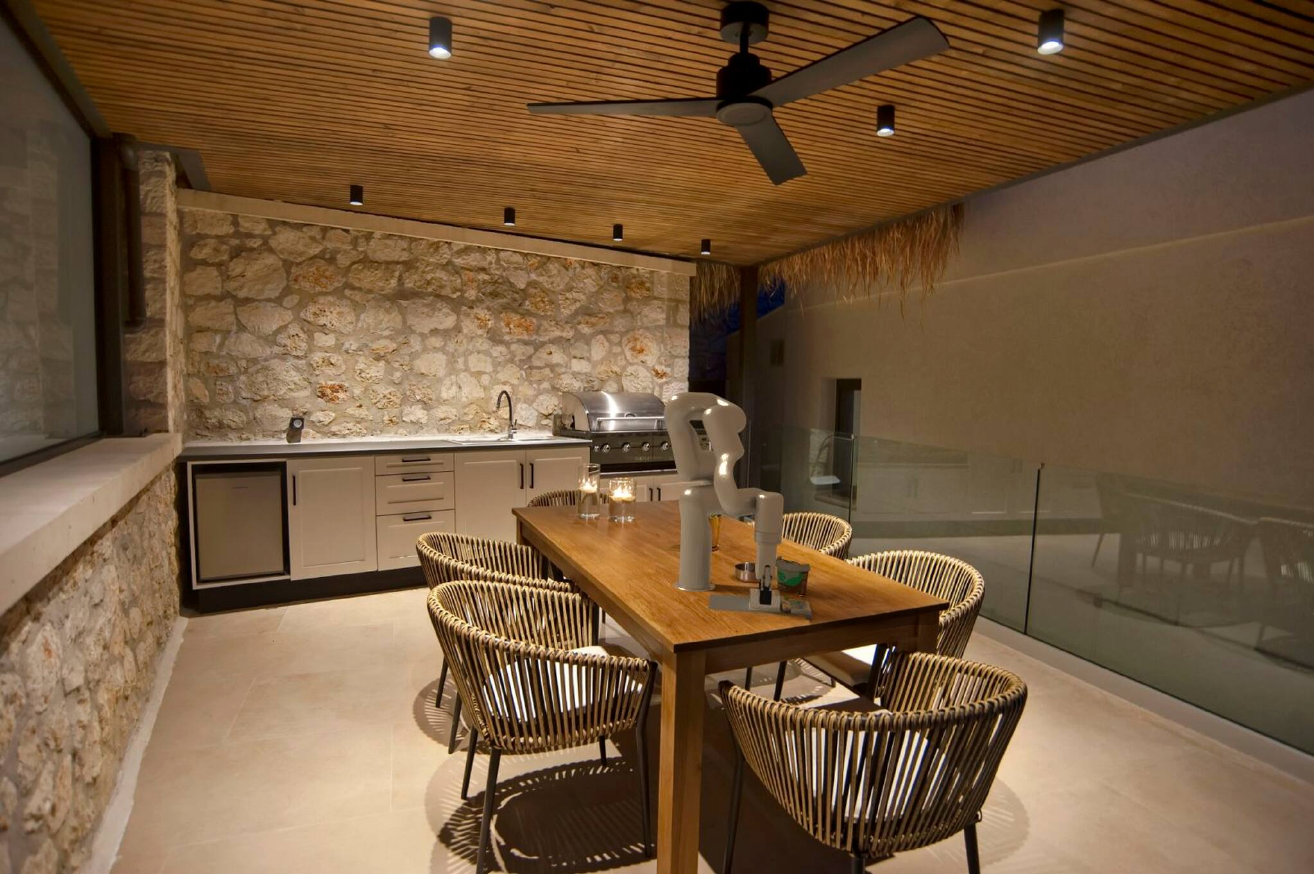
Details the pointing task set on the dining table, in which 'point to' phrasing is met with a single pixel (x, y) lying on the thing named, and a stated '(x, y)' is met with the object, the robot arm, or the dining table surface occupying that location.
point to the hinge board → (742, 605)
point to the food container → (792, 576)
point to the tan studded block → (756, 605)
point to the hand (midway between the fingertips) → (764, 599)
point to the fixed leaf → (795, 606)
